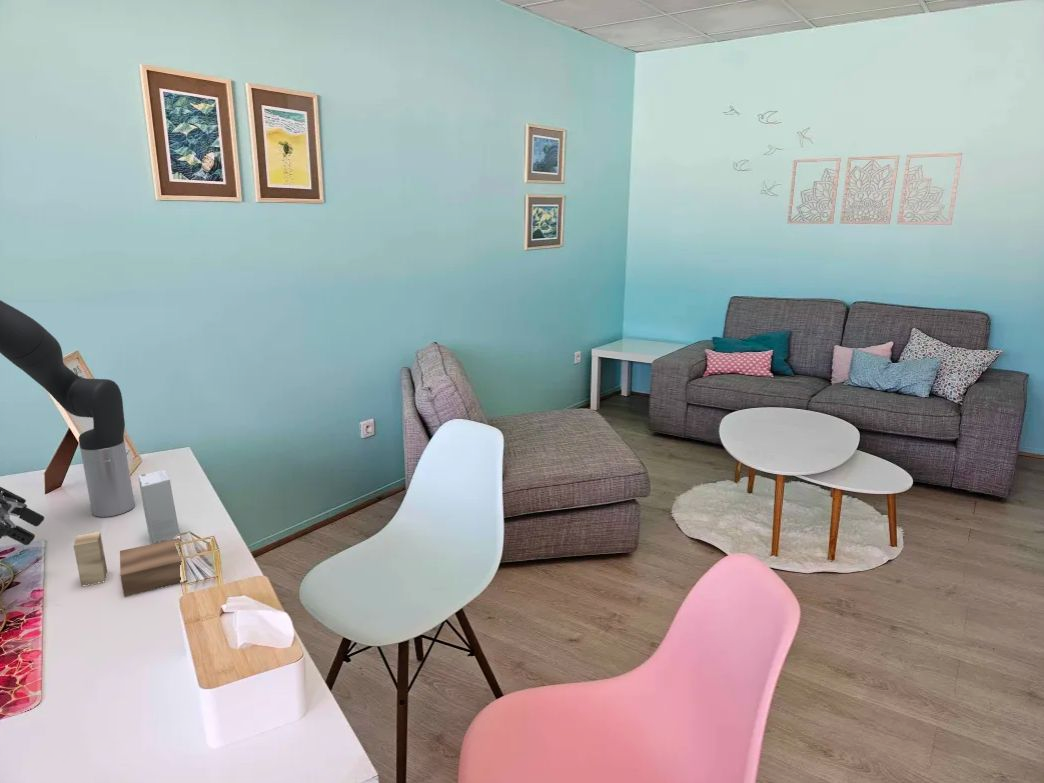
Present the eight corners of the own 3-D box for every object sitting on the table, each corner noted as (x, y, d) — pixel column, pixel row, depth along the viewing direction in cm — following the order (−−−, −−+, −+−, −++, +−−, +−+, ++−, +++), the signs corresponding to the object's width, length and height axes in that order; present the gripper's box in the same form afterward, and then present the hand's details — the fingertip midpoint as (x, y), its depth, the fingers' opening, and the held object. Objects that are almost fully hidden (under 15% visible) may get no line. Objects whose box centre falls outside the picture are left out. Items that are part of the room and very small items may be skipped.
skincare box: (181, 541, 154) (172, 479, 150) (151, 548, 151) (141, 485, 147) (176, 527, 161) (167, 468, 157) (147, 534, 158) (137, 473, 154)
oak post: (84, 575, 140) (77, 535, 138) (107, 571, 142) (100, 531, 139) (81, 586, 136) (73, 545, 134) (104, 582, 138) (97, 541, 135)
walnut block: (123, 572, 142) (119, 550, 140) (182, 559, 147) (179, 538, 146) (124, 598, 132) (120, 575, 131) (187, 583, 138) (183, 560, 136)
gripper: (-48, 483, 119) (43, 531, 127) (-25, 457, 131) (57, 502, 139) (-80, 517, 118) (14, 563, 126) (-53, 487, 131) (31, 531, 138)
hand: (36, 531), depth 132 cm, fingers open, 8 cm apart
